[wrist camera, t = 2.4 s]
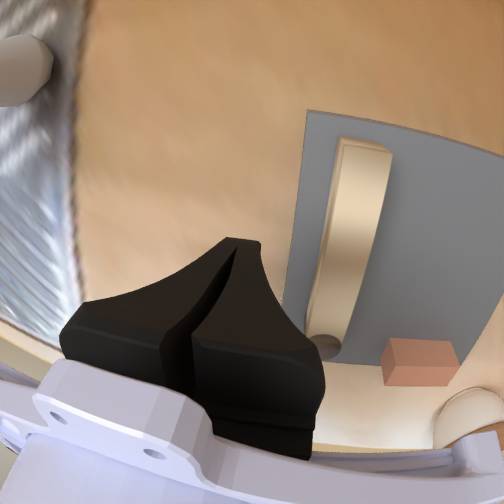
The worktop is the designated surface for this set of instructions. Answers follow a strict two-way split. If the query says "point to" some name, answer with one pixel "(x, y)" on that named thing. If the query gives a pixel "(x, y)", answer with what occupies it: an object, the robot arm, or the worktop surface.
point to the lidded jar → (469, 417)
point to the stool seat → (408, 249)
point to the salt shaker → (23, 68)
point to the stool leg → (346, 239)
